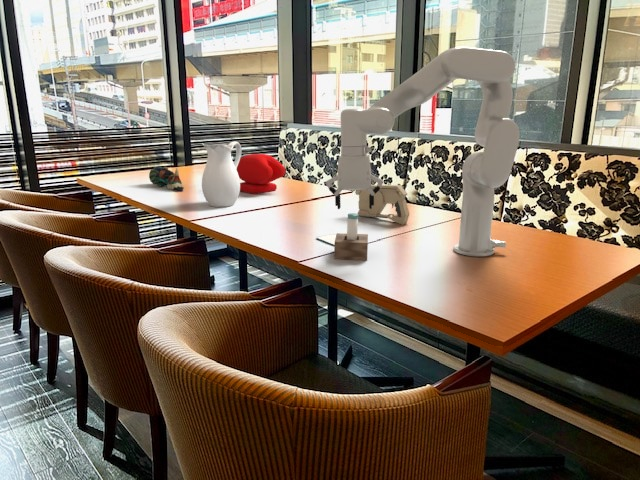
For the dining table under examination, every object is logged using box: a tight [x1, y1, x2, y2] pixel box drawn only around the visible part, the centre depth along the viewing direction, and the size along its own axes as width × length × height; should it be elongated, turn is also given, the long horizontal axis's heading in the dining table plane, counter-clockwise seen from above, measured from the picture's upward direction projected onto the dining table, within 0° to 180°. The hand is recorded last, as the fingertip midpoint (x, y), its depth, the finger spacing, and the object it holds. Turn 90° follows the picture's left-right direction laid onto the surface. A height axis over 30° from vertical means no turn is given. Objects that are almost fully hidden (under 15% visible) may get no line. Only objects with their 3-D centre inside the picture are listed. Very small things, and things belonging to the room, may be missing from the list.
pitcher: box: [201, 141, 243, 208], centre depth 234 cm, size 24×17×28 cm
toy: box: [236, 153, 286, 195], centre depth 264 cm, size 16×20×30 cm
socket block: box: [333, 233, 369, 261], centre depth 161 cm, size 10×10×6 cm
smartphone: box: [316, 233, 336, 247], centre depth 176 cm, size 8×1×16 cm
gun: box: [355, 184, 410, 226], centre depth 206 cm, size 24×3×15 cm, turn 47°
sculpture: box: [148, 166, 185, 193], centre depth 274 cm, size 13×13×30 cm
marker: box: [346, 212, 360, 240], centre depth 160 cm, size 3×3×12 cm
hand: (354, 208), depth 158 cm, fingers open, 9 cm apart
